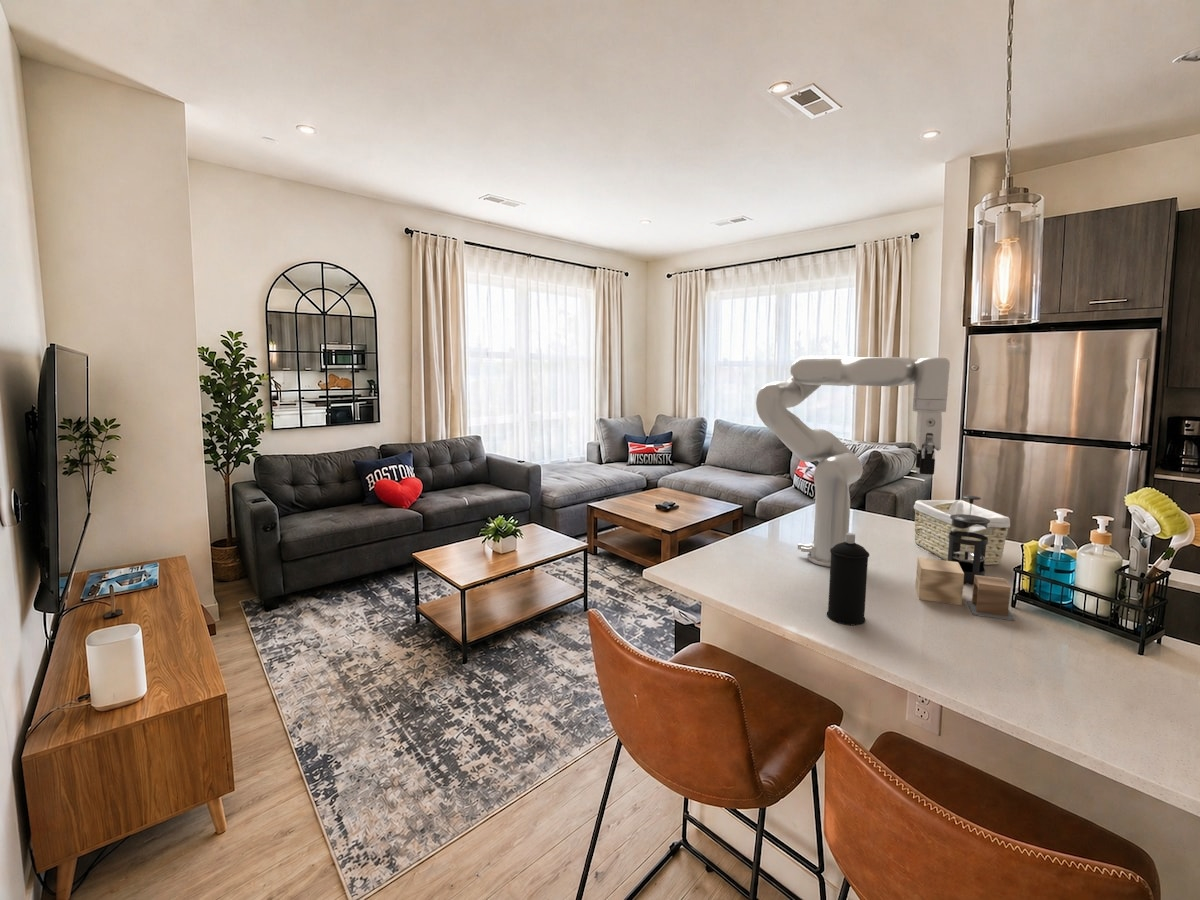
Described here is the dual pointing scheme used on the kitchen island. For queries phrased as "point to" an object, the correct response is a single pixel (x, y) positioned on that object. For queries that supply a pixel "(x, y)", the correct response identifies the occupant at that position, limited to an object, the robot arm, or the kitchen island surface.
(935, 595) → the plinth
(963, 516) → the french press
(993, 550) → the storage basket
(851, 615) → the aerosol can
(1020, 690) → the kitchen island surface
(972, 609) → the coaster
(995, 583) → the u-shaped wooden block
